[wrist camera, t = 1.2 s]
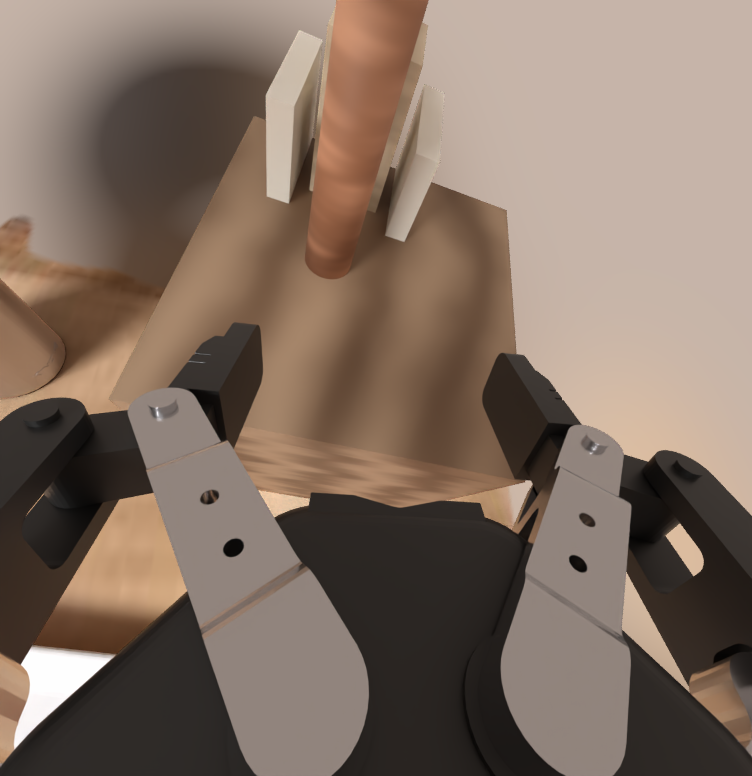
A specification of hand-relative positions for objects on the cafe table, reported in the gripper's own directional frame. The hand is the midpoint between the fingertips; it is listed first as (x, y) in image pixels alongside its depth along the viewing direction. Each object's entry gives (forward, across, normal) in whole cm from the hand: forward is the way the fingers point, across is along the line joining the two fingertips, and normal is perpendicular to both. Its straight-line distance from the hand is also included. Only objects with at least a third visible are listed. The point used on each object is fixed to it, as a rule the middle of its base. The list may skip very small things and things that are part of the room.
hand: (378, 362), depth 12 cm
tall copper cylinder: (+17, +3, -1) cm, 18 cm away
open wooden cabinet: (+25, +3, +22) cm, 33 cm away
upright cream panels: (+20, +2, -3) cm, 21 cm away
